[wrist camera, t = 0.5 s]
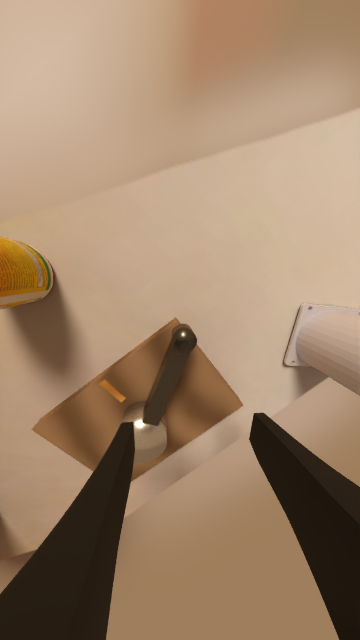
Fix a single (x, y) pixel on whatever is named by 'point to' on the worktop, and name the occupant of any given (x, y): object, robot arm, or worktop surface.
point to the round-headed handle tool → (159, 398)
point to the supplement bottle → (22, 274)
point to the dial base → (133, 386)
